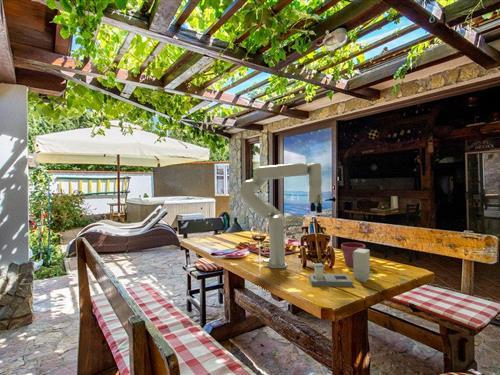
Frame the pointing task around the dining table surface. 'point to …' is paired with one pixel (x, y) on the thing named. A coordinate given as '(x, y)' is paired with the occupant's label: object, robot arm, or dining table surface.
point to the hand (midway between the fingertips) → (316, 211)
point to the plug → (319, 271)
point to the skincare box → (361, 264)
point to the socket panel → (331, 280)
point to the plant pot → (350, 251)
